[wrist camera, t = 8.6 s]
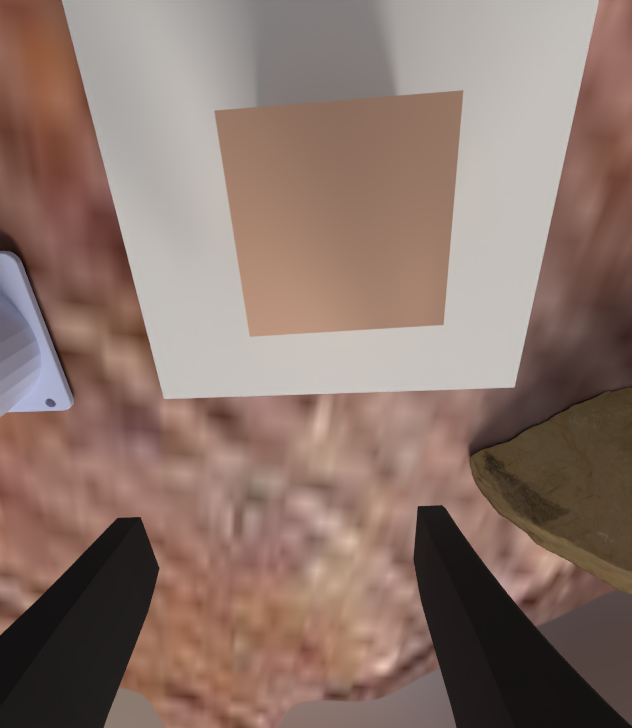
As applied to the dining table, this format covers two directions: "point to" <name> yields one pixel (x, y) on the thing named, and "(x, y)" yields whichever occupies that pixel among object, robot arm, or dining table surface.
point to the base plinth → (319, 84)
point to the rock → (570, 485)
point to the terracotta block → (342, 210)
